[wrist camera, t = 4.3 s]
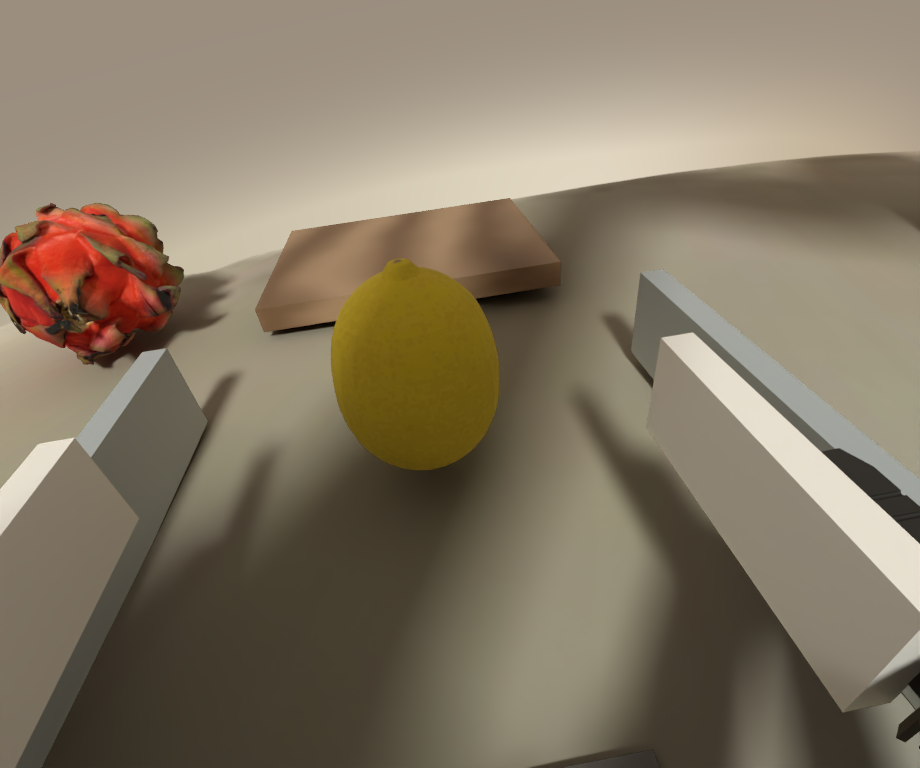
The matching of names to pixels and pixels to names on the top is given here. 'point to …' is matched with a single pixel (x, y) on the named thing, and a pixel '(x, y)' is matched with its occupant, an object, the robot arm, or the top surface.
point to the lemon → (415, 367)
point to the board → (410, 237)
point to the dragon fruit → (87, 278)
